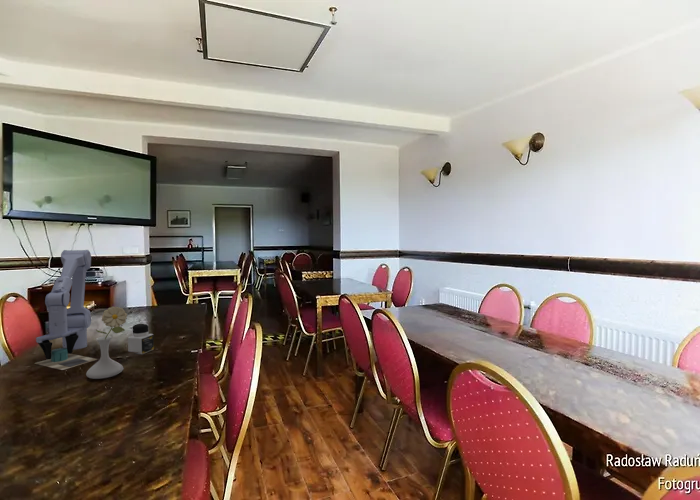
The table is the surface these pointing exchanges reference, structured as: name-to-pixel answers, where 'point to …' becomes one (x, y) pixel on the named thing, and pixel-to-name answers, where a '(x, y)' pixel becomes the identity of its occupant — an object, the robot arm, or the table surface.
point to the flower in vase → (106, 364)
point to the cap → (59, 354)
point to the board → (67, 362)
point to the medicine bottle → (140, 339)
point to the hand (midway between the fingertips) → (59, 356)
